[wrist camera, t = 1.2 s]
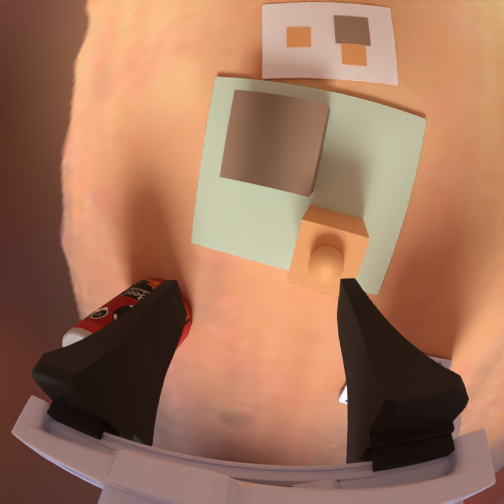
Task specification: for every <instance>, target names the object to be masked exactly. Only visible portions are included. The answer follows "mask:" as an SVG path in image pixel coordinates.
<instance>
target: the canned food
mask: <svg viewBox="0 0 504 504" xmlns="http://www.w3.org/2000/svg"><path fill="white" fill-rule="evenodd" d="M162 282H164V281H163V280H160V279H146V280H141V281H139V282H137V283H135V284H134V285H132V286H131V287H129V288H128V289H127V290H125V291H124V292H122V293H121V294H119V295H118V296H116V297H115V298H113V299H112V300H110V301H109V302H108V303H106V304H105V305H103V306H102V307H100V308H99V309H98V310H96V311H95V312H93V313H92V314H90V315H89V316H88V317H86V318H85V319H83V320H82V321H80V322H79V323H78V324H77V325H75V326H74V327H73V328H71V329H70V330H69V331H68V332H67V333H66V334H65V335H64V337H63V341H62V342H63V343H62V346H63V347H65V346H68V345H70V344H73V343H75V342H77V341H79V340H81V339H83V338H85V337H87V336H89V335H91V334H93V333H95V332H96V331H98V330H100V329H102V328H103V327H105V326H106V325H108V324H109V323H111V322H112V321H114V320H115V319H117V318H118V317H119V316H121V315H122V314H123V313H125V312H126V311H127V310H129V309H130V308H131V307H132V306H134V305H135V304H136V303H137V302H139V301H140V300H141V299H142V298H143V297H145V296H146V295H147V294H148V293H150V292H151V291H152V290H153V289H154V288H156V287H157V286H158V285H159V284H161V283H162ZM181 295H182V294H181ZM182 298H183V301H184V304H185V308H186V311H187V318H186V322H185V326H184V330H183V333H182V336H181V338H180V341H179V343H178V346H177V348H178V347H179V346H180V345H181V343H182V342H183V341H184V340H185V339H186V337H187V335H188V334H189V331H190V327H191V324H192V316H191V310H190V308H189V305H188V303H187V301H186V299H185V298H184V296H183V295H182ZM177 348H176V349H177ZM175 351H176V350H175Z"/></svg>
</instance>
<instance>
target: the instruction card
mask: <svg viewBox="0 0 504 504" xmlns="http://www.w3.org/2000/svg"><path fill="white" fill-rule="evenodd" d="M280 78H315V79H339V80H353V81H364V82H373V83H381V84H389V85H396V86H398V72H397V59H396V49H395V40H394V32H393V25H392V18H391V12H390V8H387V7H380V6H372V5H363V4H351V3H332V2H297V3H278V4H266V5H262V79H280Z"/></svg>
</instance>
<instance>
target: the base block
mask: <svg viewBox="0 0 504 504" xmlns="http://www.w3.org/2000/svg"><path fill="white" fill-rule="evenodd" d="M329 113H330V109H329V105H328V104H327V103H322V102H318V101H313V100H307V99H302V98H296V97H290V96H284V95H277V94H270V93H263V92H254V91H245V90H234V96H233V101H232V106H231V112H230V117H229V123H228V129H227V134H226V140H225V146H224V152H223V158H222V165H221V171H220V177H222V178H227V179H232V180H237V181H242V182H246V183H251V184H255V185H260V186H264V187H269V188H273V189H277V190H282V191H286V192H290V193H294V194H298V195H302V196H306V197H310V195H311V194H312V193H313V191H314V186H315V182H316V177H317V173H318V168H319V163H320V158H321V154H322V149H323V144H324V139H325V134H326V129H327V124H328V118H329Z"/></svg>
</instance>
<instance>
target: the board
mask: <svg viewBox="0 0 504 504" xmlns="http://www.w3.org/2000/svg"><path fill="white" fill-rule="evenodd" d="M234 90H245V91H254V92H263V93H270V94H277V95H284V96H290V97H296V98H302V99H307V100H313V101H318V102H322V103H327V104H328V105H329V109H330V113H329V118H328V124H327V129H326V134H325V139H324V144H323V149H322V154H321V158H320V163H319V168H318V173H317V177H316V182H315V186H314V191H313V193H312V194H311V195H310V197H306V196H302V195H298V194H294V193H290V192H286V191H282V190H277V189H273V188H269V187H264V186H260V185H255V184H251V183H246V182H242V181H237V180H232V179H227V178H222V177H220V171H221V165H222V158H223V152H224V146H225V140H226V134H227V129H228V123H229V117H230V112H231V106H232V101H233V96H234ZM426 121H427V119H424V118H422V117H419V116H416V115H413V114H410V113H408V112H405V111H402V110H399V109H395V108H392V107H389V106H386V105H382V104H379V103H376V102H372V101H368V100H365V99H361V98H357V97H353V96H349V95H345V94H341V93H336V92H332V91H327V90H322V89H317V88H312V87H306V86H300V85H294V84H287V83H280V82H273V81H265V80H255V79H245V78H231V77H215V82H214V87H213V92H212V98H211V103H210V109H209V114H208V120H207V126H206V132H205V138H204V145H203V151H202V158H201V165H200V172H199V179H198V186H197V194H196V202H195V210H194V219H193V228H192V237H191V243H193V244H197V245H200V246H204V247H207V248H211V249H214V250H217V251H221V252H224V253H228V254H231V255H235V256H238V257H242V258H245V259H249V260H252V261H256V262H259V263H263V264H266V265H270V266H273V267H277V268H280V269H284V270H287V271H289V269H290V265H291V261H292V257H293V253H294V249H295V245H296V241H297V236H298V232H299V228H300V224H301V219H302V218H303V216H304V214H305V213H306V211H307V209H308V208H309V206H310V205H314V206H317V207H321V208H325V209H329V210H332V211H336V212H340V213H343V214H347V215H350V216H354V217H357V218H361V219H363V220H364V223H365V226H366V229H367V232H368V235H369V238H370V239H369V242H368V245H367V248H366V252H365V255H364V258H363V261H362V264H361V267H360V270H359V273H358V276H357V279H356V280H357V282H358V283H359V284H360V286H361V287H362V289H363V290H364V292H366V293H369V294H373V295H376V296H377V295H378V293H379V290H380V288H381V285H382V282H383V280H384V277H385V275H386V272H387V269H388V266H389V264H390V261H391V258H392V255H393V252H394V249H395V246H396V243H397V240H398V237H399V234H400V231H401V227H402V224H403V221H404V217H405V214H406V210H407V207H408V203H409V200H410V196H411V192H412V188H413V184H414V180H415V176H416V172H417V167H418V163H419V158H420V153H421V149H422V143H423V138H424V133H425V127H426Z"/></svg>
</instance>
